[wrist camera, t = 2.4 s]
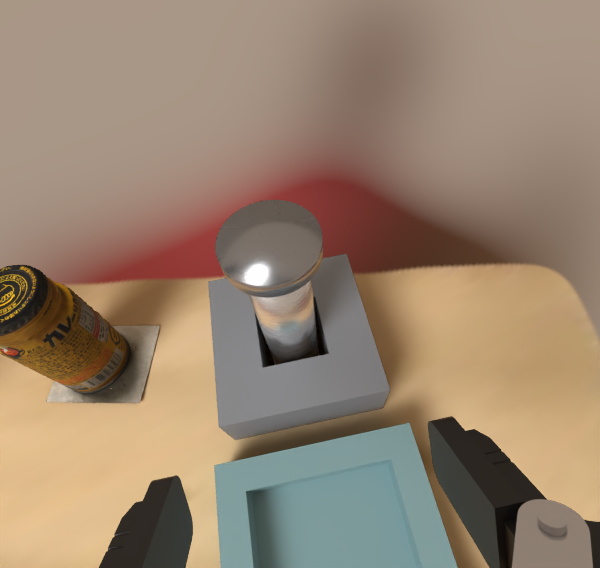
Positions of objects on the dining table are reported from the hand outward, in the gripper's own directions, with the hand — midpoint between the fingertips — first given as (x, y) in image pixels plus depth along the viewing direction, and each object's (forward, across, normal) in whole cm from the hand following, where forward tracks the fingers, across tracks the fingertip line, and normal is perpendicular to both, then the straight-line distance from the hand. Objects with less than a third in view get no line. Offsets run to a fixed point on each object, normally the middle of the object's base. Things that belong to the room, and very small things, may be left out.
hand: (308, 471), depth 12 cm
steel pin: (+21, 0, +5) cm, 22 cm away
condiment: (+23, +17, +3) cm, 29 cm away
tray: (+10, 0, +16) cm, 19 cm away
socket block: (+21, 0, +5) cm, 22 cm away
